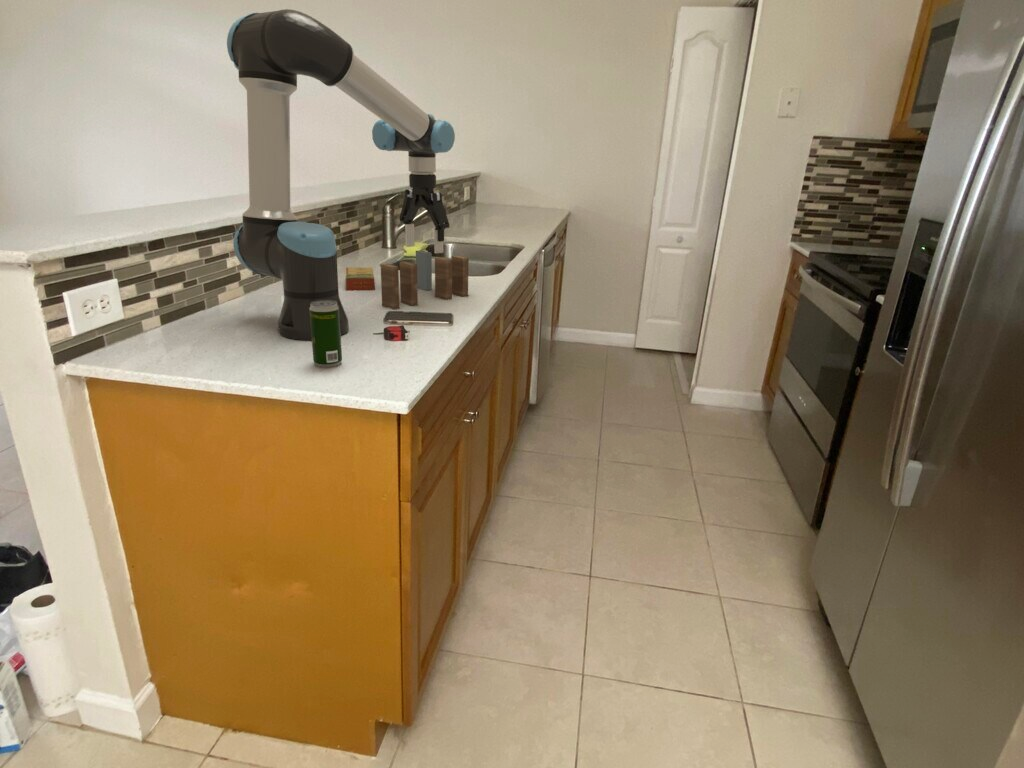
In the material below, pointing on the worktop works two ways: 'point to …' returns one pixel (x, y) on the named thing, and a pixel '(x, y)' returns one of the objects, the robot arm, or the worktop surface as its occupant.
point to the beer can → (325, 333)
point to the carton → (359, 278)
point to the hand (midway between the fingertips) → (424, 249)
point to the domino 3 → (424, 270)
